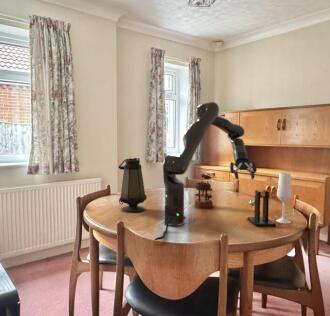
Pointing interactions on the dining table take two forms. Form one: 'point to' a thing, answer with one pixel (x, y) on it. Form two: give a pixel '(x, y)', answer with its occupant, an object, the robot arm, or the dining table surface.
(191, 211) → the dining table surface
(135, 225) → the dining table surface
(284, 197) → the champagne flute
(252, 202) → the latch lever
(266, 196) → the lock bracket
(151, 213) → the dining table surface
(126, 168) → the lantern
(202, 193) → the dark brown tall piece
